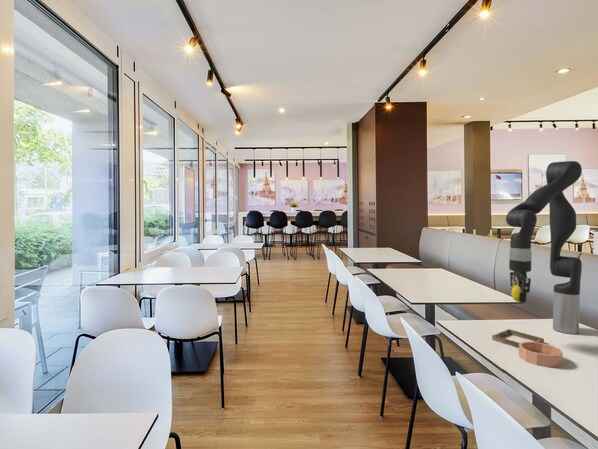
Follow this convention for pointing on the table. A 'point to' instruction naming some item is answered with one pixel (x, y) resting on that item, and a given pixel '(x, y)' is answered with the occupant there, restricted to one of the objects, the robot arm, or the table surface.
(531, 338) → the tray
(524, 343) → the bowl
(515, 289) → the lemon
